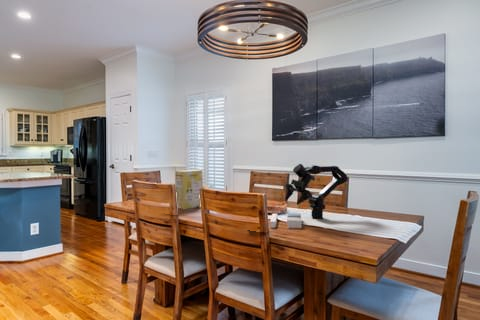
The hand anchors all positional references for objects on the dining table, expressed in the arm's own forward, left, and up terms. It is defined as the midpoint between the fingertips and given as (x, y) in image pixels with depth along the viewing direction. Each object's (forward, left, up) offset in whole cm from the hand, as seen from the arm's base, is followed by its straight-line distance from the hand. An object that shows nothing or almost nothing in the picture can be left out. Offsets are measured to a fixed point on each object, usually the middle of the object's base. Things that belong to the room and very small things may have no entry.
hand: (291, 202), depth 194 cm
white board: (+10, +7, -12) cm, 17 cm away
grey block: (-2, +12, -12) cm, 18 cm away
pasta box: (+78, -36, -12) cm, 87 cm away
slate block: (-2, 0, -12) cm, 12 cm away
